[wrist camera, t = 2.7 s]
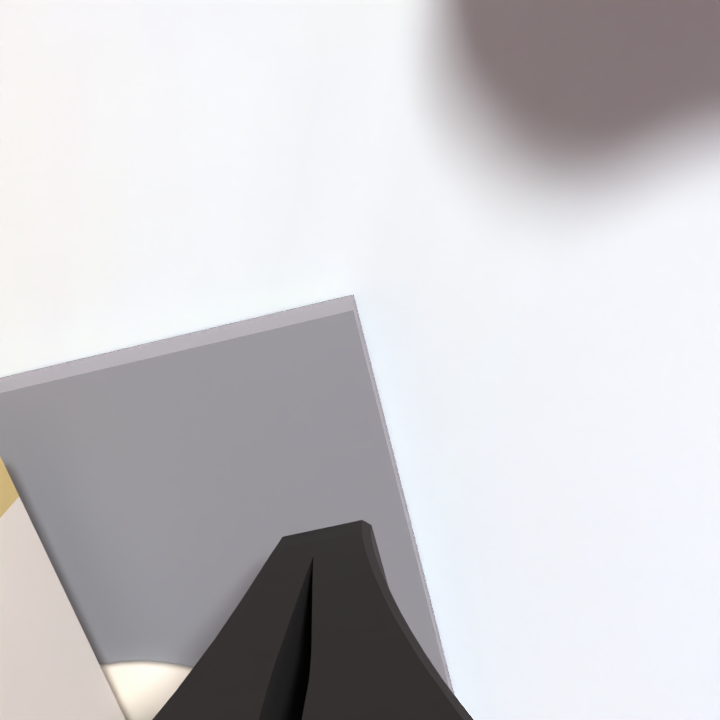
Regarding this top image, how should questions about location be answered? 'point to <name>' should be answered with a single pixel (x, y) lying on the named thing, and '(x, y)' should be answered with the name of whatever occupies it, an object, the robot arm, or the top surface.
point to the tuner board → (204, 481)
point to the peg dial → (41, 631)
